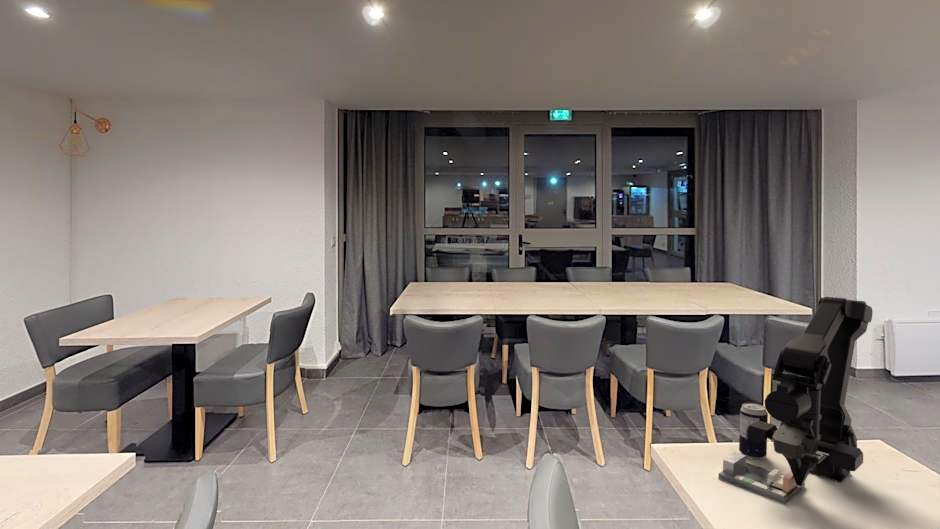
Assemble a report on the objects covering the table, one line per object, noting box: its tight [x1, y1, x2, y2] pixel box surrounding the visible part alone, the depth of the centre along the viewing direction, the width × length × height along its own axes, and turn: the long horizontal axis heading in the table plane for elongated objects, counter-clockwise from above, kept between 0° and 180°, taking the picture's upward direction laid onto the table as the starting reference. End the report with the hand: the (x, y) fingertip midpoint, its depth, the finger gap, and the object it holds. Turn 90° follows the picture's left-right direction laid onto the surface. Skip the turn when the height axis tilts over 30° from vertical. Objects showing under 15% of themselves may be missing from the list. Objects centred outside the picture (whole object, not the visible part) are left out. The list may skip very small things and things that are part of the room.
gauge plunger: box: [767, 468, 797, 492], centre depth 99 cm, size 7×4×3 cm, turn 127°
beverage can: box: [738, 402, 769, 460], centre depth 115 cm, size 6×6×12 cm
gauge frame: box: [718, 451, 806, 505], centre depth 103 cm, size 10×13×4 cm
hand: (799, 485), depth 97 cm, fingers closed
